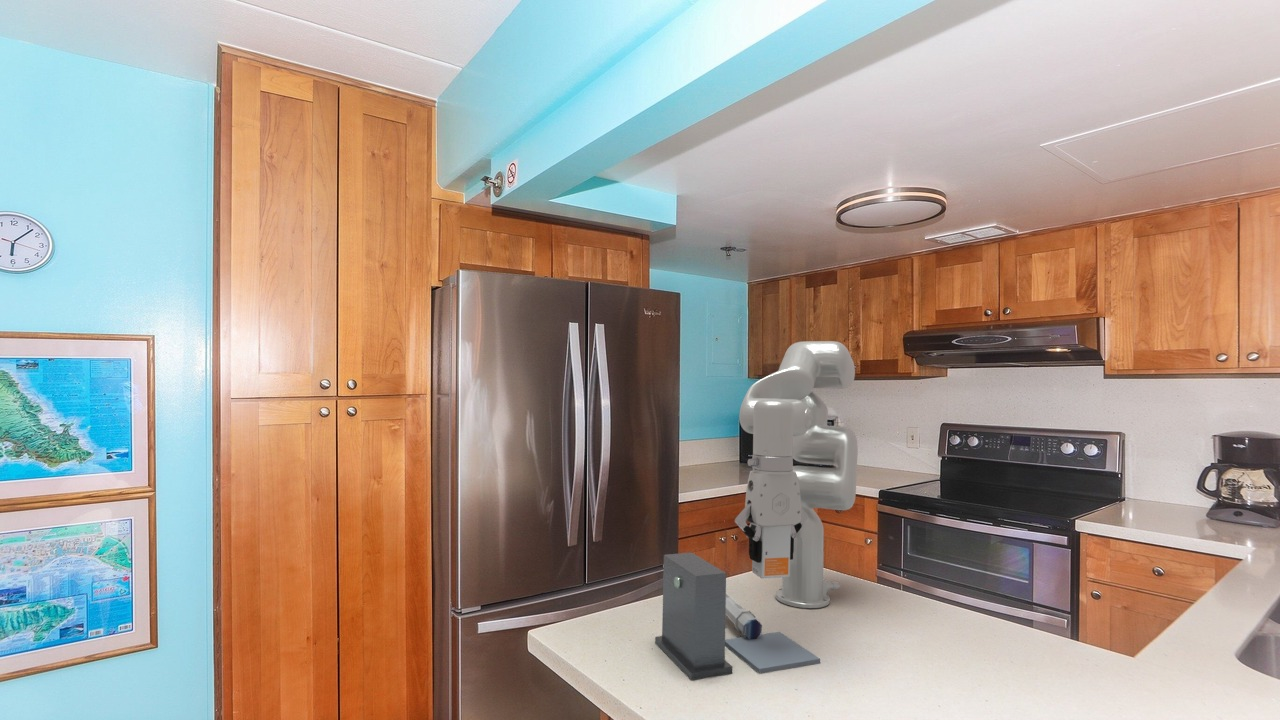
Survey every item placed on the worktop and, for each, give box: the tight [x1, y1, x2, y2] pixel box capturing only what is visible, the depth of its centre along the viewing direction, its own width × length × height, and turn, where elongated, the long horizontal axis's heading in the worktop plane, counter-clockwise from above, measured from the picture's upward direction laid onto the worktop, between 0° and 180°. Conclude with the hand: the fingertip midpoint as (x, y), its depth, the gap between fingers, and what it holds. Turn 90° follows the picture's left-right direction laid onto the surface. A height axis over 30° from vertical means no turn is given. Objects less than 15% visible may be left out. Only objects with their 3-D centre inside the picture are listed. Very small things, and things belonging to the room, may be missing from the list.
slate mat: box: [725, 631, 821, 674], centre depth 116 cm, size 13×13×1 cm
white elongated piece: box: [726, 593, 763, 640], centre depth 132 cm, size 5×7×25 cm
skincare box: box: [751, 525, 791, 580], centre depth 117 cm, size 6×4×12 cm
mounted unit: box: [654, 552, 733, 681], centre depth 114 cm, size 8×16×17 cm, turn 21°
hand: (771, 558), depth 117 cm, fingers closed on skincare box, 6 cm apart
